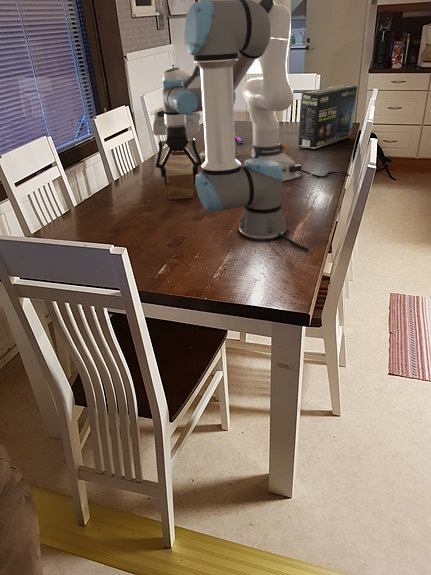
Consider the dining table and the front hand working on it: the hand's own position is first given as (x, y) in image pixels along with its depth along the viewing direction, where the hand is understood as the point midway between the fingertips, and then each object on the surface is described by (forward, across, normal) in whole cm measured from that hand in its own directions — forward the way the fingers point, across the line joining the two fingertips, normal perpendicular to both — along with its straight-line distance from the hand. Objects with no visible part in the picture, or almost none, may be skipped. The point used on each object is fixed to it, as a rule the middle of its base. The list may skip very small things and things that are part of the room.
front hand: (180, 183), depth 179 cm
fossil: (+6, -19, -51) cm, 55 cm away
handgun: (+6, -31, -86) cm, 91 cm away
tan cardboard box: (+4, 0, -8) cm, 9 cm away
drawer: (+2, 0, -19) cm, 19 cm away
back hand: (-8, 0, -28) cm, 29 cm away
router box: (+6, -78, -69) cm, 104 cm away
